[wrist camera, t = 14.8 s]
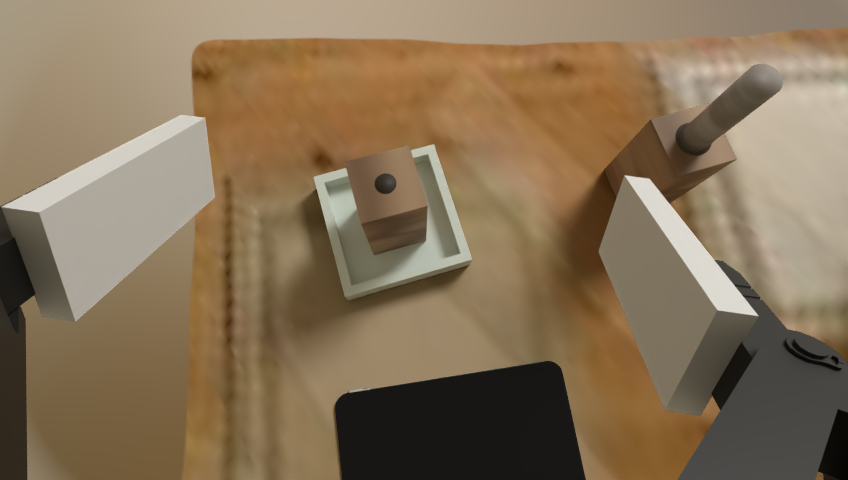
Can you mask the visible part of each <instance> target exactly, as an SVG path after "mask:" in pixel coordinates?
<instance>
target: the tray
mask: <svg viewBox="0 0 848 480" xmlns="http://www.w3.org/2000/svg"><path fill="white" fill-rule="evenodd" d="M411 153H412V156H413V159H414V163H415V166H416V169H417V172H418V176H419V179H420V182H421V185H422V189H423V192H424V195H425V198H426V202H427V205H428V211H427V233H426V241H423V242H420V243H416V244H413V245H409V246H405V247H402V248H398V249H395V250H391V251H387V252H384V253H380V254H377V255H374V254H373V252H372V249H371V247H370V245H369V242H368V240H367V237H366V235H365V232H364V230H363V228H362V225H361V222H360V218H359V215H358V211H357V207H356V203H355V200H354V196H353V192H352V188H351V185H350V181H349V177H348V173H347V170H346V168H345V169H341V170H337V171H334V172H330V173H326V174H323V175H319V176H315V177H314V180H315V184H316V188H317V192H318V196H319V199H320V203H321V207H322V211H323V215H324V219H325V223H326V226H327V230H328V234H329V238H330V242H331V246H332V249H333V253H334V257H335V261H336V265H337V269H338V273H339V276H340V280H341V284H342V288H343V292H344V296H345V298H347V299H348V300H353V299H356V298H359V297H363V296H366V295H370V294H373V293H376V292H380V291H383V290H386V289H390V288H393V287H397V286H400V285H403V284H407V283H410V282H414V281H417V280H420V279H424V278H427V277H430V276H434V275H437V274H441V273H444V272H447V271H451V270H454V269H458V268H461V267H464V266H468V265H470V263H471V261H472V258H471V255H470V252H469V249H468V246H467V243H466V240H465V237H464V234H463V231H462V228H461V225H460V222H459V219H458V216H457V213H456V210H455V207H454V204H453V201H452V198H451V195H450V192H449V189H448V186H447V183H446V180H445V177H444V174H443V171H442V168H441V165H440V162H439V159H438V156H437V153H436V150H435V147H434V144H433V145H429V146H425V147H422V148H418V149H414V150H411Z"/></svg>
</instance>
